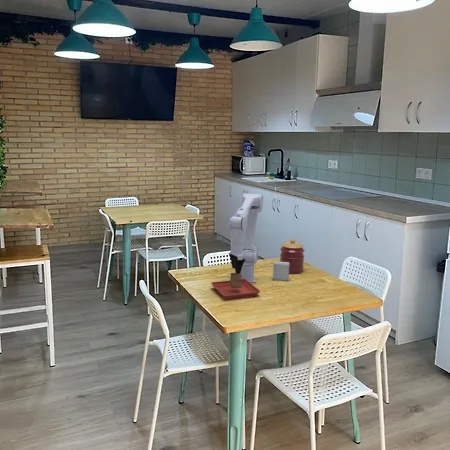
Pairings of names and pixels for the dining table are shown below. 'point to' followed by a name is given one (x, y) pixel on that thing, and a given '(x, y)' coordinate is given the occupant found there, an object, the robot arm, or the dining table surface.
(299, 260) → the canister
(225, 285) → the plant saucer
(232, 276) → the walnut block
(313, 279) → the dining table surface
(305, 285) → the dining table surface
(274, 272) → the medicine box
